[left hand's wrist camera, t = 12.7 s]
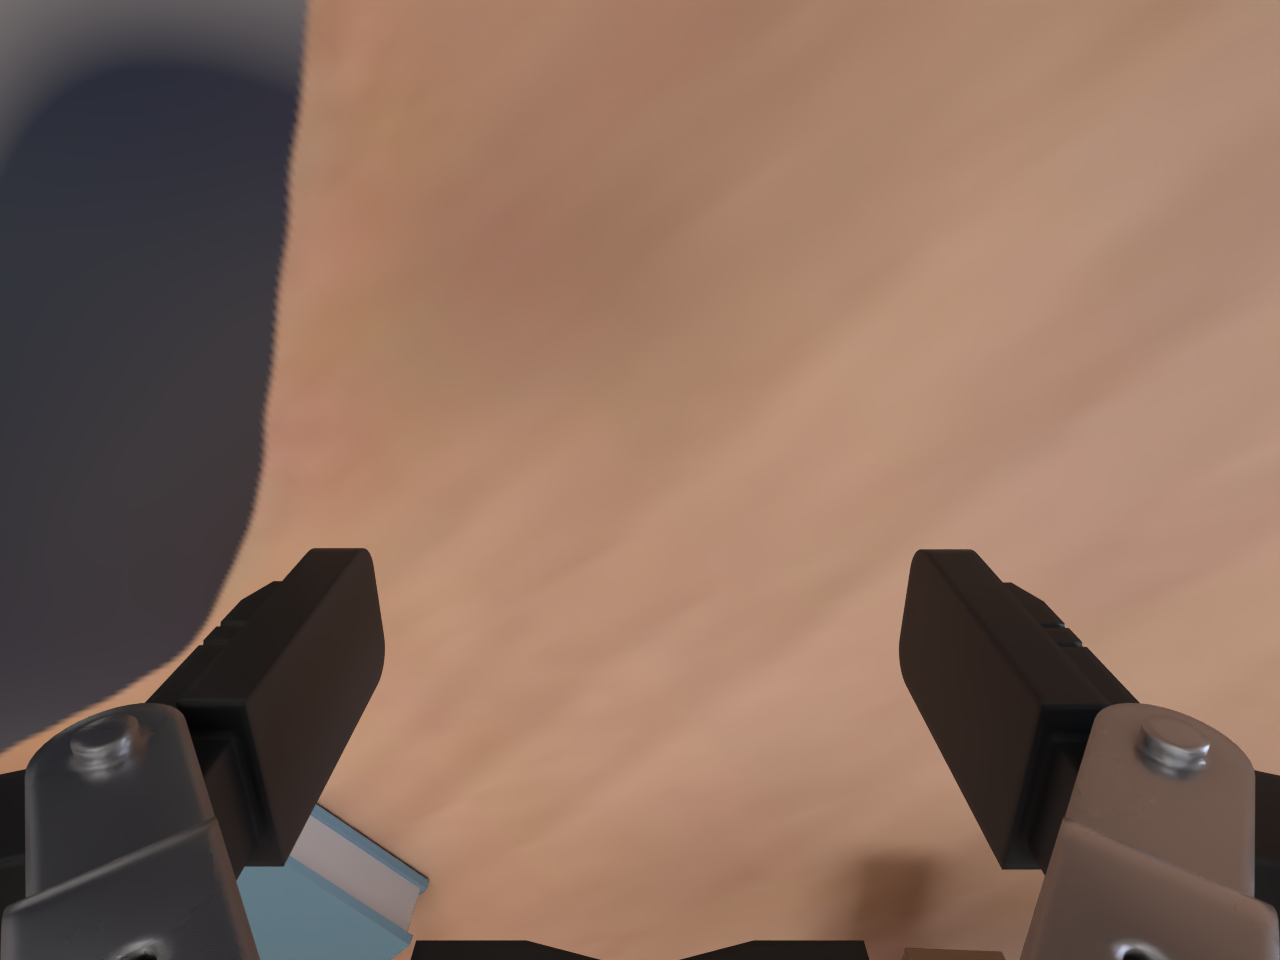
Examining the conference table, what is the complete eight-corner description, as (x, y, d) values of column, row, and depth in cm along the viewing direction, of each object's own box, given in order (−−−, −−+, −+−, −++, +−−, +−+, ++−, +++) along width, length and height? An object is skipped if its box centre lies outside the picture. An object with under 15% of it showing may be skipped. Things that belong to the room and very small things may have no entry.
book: (249, 1022, 61) (217, 1091, 57) (71, 921, 57) (20, 987, 52) (429, 880, 55) (409, 945, 51) (245, 756, 51) (206, 814, 47)
